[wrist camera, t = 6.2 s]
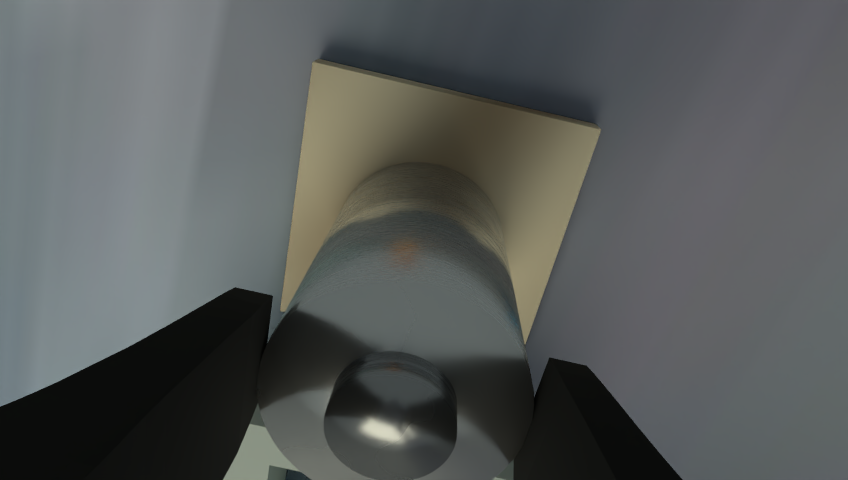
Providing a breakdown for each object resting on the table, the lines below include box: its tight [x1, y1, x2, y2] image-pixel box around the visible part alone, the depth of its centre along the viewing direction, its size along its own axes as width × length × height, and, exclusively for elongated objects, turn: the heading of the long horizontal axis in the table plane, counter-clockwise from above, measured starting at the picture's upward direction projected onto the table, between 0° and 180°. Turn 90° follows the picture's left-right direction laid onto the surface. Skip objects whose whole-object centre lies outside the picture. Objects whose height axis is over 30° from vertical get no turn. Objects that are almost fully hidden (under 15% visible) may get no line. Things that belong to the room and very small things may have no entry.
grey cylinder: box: [257, 162, 534, 480], centre depth 12 cm, size 4×4×7 cm
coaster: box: [280, 59, 601, 344], centre depth 15 cm, size 7×7×1 cm
